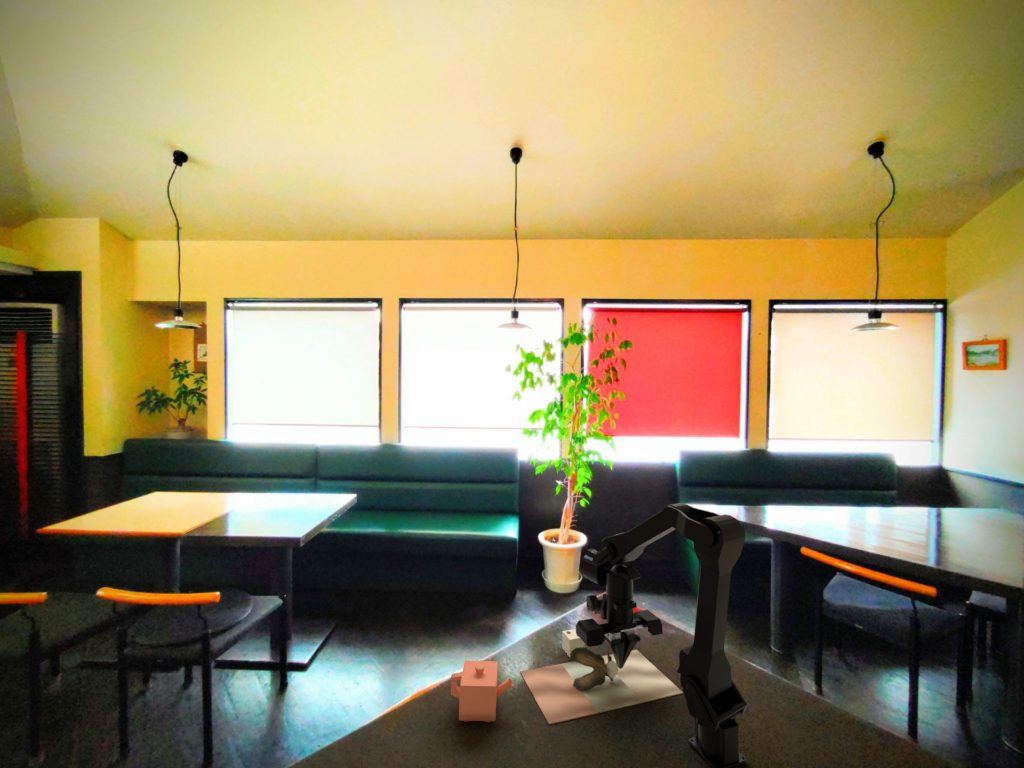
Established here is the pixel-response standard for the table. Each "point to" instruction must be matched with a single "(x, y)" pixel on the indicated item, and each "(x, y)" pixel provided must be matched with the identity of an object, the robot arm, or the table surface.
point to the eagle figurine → (597, 664)
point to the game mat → (596, 688)
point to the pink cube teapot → (478, 690)
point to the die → (571, 641)
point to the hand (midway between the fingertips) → (619, 667)
